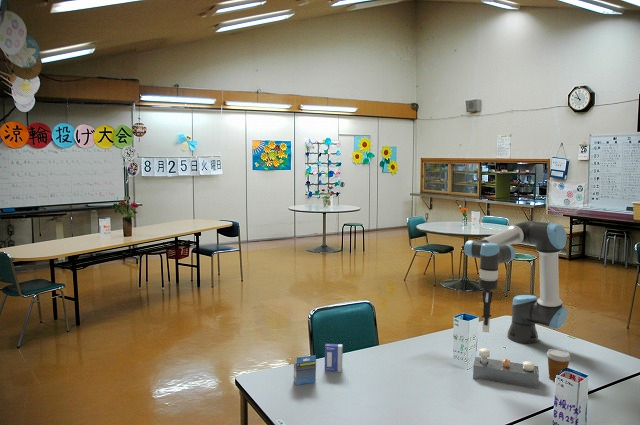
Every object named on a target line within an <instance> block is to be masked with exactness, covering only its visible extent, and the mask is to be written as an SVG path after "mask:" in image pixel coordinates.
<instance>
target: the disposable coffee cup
mask: <svg viewBox="0 0 640 425" xmlns="http://www.w3.org/2000/svg"><path fill="white" fill-rule="evenodd" d="M546 356H547V365H548V378H549V380H551V381H553V382H555V378H556V375H557V374H558V373H559V372H560V371H561V370H563V369H565V368H569V363H570V361H571V358H572V357H571V354H570V352H568V351H566V350H563V349H560V348H559V349H558V348H550V349H548V350H547V352H546Z"/></svg>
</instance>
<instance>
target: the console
mask: <svg viewBox="0 0 640 425" xmlns="http://www.w3.org/2000/svg"><path fill="white" fill-rule="evenodd" d="M472 367H473V369H472V379H473V380H479V381H485V382H492V383H495V384H496V383H497V384H503V385H510V386H514V387H515V386H516V387H520V388H525V389H526V388H527V389H533V390H537V391H538V390H539V378H540V376H539V375H540V374H539V366H538V365H534V370H533V371H525V370H524V369H523V363H519V362H512V361H510V367H503V366H502V360H499V359H493V358H487V364H481V356H475V357H474V362H473V366H472Z"/></svg>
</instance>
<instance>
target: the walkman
mask: <svg viewBox="0 0 640 425" xmlns="http://www.w3.org/2000/svg"><path fill="white" fill-rule="evenodd" d="M343 349H344V347H343V344H341V343H340V344H338V343H337V344H336V343H325V344H324V371H325V372H340V373H341V372H342V371H343V359H344V358H343V355H344V354H343V352H344V351H343Z"/></svg>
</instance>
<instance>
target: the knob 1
mask: <svg viewBox="0 0 640 425" xmlns="http://www.w3.org/2000/svg"><path fill="white" fill-rule="evenodd" d="M490 354H491V350H490V349H489V348H484V347H483V348H479V349H478V357H481V364H487V359H488V358H490Z"/></svg>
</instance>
